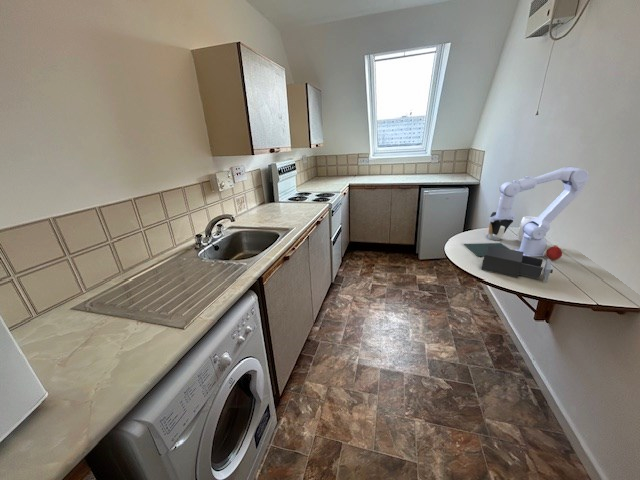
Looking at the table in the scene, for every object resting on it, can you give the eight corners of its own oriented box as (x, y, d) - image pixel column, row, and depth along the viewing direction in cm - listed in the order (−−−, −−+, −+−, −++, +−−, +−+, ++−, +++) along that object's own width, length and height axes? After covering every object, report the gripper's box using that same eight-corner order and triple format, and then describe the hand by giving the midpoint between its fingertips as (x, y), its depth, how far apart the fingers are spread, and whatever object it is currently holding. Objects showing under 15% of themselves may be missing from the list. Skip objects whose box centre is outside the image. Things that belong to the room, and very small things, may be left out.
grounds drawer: (550, 272, 116) (554, 260, 114) (550, 283, 108) (554, 270, 106) (512, 263, 124) (515, 252, 122) (510, 273, 116) (513, 262, 114)
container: (503, 235, 136) (505, 226, 134) (502, 238, 132) (504, 228, 130) (493, 233, 138) (495, 224, 136) (492, 236, 135) (494, 227, 133)
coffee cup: (505, 240, 151) (512, 215, 145) (490, 241, 151) (496, 216, 146) (497, 235, 159) (502, 211, 153) (482, 236, 159) (487, 211, 153)
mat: (500, 243, 148) (500, 243, 148) (519, 256, 133) (519, 255, 133) (463, 244, 149) (463, 243, 149) (478, 257, 134) (478, 256, 134)
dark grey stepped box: (519, 266, 123) (523, 251, 120) (517, 278, 114) (521, 262, 111) (485, 259, 131) (488, 245, 128) (481, 269, 122) (484, 254, 119)
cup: (538, 245, 144) (546, 220, 139) (524, 246, 144) (530, 221, 138) (526, 239, 152) (532, 215, 147) (512, 240, 152) (518, 216, 146)
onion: (551, 257, 131) (555, 242, 128) (562, 262, 126) (568, 246, 122) (541, 258, 130) (545, 243, 127) (552, 263, 125) (557, 248, 122)
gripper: (500, 211, 124) (494, 238, 129) (523, 207, 128) (516, 233, 133) (487, 207, 130) (482, 233, 135) (509, 204, 134) (503, 229, 139)
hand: (498, 233), depth 135 cm, fingers closed on container, 4 cm apart
